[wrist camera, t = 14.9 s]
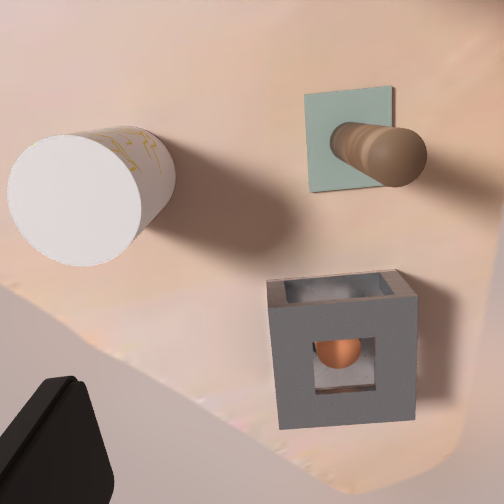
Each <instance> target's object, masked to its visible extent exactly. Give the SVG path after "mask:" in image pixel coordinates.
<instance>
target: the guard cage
mask: <svg viewBox="0 0 504 504" xmlns="http://www.w3.org/2000/svg"><path fill="white" fill-rule="evenodd" d="M266 283H267V302H268V315H269V326H270V336H271V347H272V357H273V367H274V378H275V388H276V399H277V409H278V419H279V430H284V429H298V428H312V427H326V426H339V425H353V424H367V423H381V422H395V421H409V420H415V408H416V365H417V323H418V295H417V294H416V293H415V292H414V290H413V289H412V288H411V287H410V286H409V285H408V283H407V282H406V281H405V280H404V279H403V277H402V276H401V275H400V274H399V273H398V271H397V270H396V269H392V270H380V271H369V272H357V273H346V274H334V275H323V276H311V277H300V278H288V279H277V280H266ZM358 338H359V341H360V343H361V354H360V356H359V358H358V359H357V361H356V362H355V363H353V364H352V365H350V366H349V367H346V368H342V369H334V368H330V367H328V366H326V365H324V364H323V363H322V362H321V361H320V359H319V358H318V355H317V351H316V347H315V342H321V341H333V340H346V339H358ZM363 384H374V386H370V387H357V388H344V389H331V390H317V391H315V388H324V387H337V386H350V385H363Z"/></svg>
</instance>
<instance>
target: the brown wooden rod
mask: <svg viewBox="0 0 504 504" xmlns="http://www.w3.org/2000/svg"><path fill="white" fill-rule="evenodd" d="M330 148H331V151H332V153H333V154H334V156H335V157H337V158H338V159H340V160H341V161H343V162H345V163H347V164H348V165H350V166H352V167H354V168H355V169H357V170H359V171H360V172H362V173H364V174H366V175H367V176H369V177H371V178H372V179H374V180H376V181H378V182H379V183H381V184H383V185H385V186H389V187H401V186H405V185H407V184H409V183H411V182H412V181H414V180H415V179H416V178H417V177H418V176H419V175H420V174H421V172H422V171H423V169H424V167H425V164H426V159H427V150H426V146H425V143H424V141H423V140H422V138H421V137H420V136H419V135H418V134H417V133H415V132H414V131H412V130H409V129H404V128H396V127H389V126H381V125H373V124H365V123H357V122H345V123H342V124H340V125H339V126H338V127H336V128H335V130H334V131H333V133H332V134H331V137H330Z"/></svg>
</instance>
